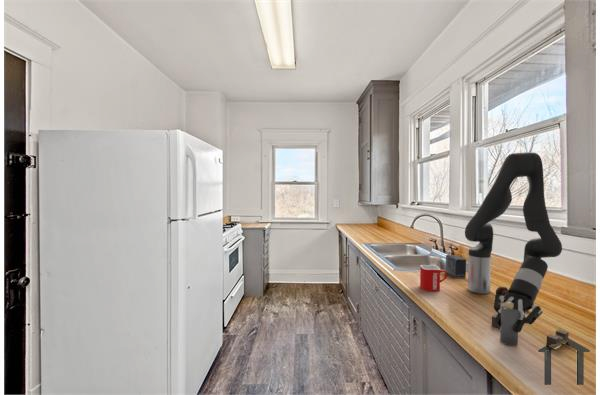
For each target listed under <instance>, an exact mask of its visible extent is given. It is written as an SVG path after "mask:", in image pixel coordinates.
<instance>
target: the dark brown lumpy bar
mask: <svg viewBox="0 0 600 395" xmlns="http://www.w3.org/2000/svg"><path fill="white" fill-rule="evenodd" d="M508 291H509V289H508V288H507V287H505V286H499V287H498V288H496V290H495V295H496V294H499V296H505V295H506V294H507V293H508Z"/></svg>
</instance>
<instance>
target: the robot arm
mask: <svg viewBox="0 0 600 395" xmlns="http://www.w3.org/2000/svg"><path fill="white" fill-rule="evenodd" d="M523 177H524V178H525V177H526V179H527V182H528V191H527V195H526V197H525V199H524V201H523V206H522V214H523V217H524V221H525V226H526V227H525V228H526V229H527V231H529V232H533V233H537V234H538V236H539V237H535V238H532V239H529V240H528V241H527V242H526V243H525V246H524V249H523V250H524V251H523V252H524V253H523V261H522V263H521V266H520V268H519V270H518V271H517V272H516V273H515V276H514V277H513V278H514V279H513V280H512V282H511V285H510V286H509V287H508V288H509V289H508V293H507V294H506V295H505V296H499V294H496V293H495V295H494V303H493V309H494V311H495V312H496V313H497V314H496V315H497V316H496V319H495V322H496V324H497V326H501V307H502V306H506V302H512V303H514V308H516V309H518V310H519V320H517V321H516V323H515V325H514V328H513V330H514V332H516V333H518V334H519V333H520V332H522V329H523V328H524V325H525V324H529V325H532V324H534V323H535V322H536V320H537V319H539V317H540V316H541V315H542V314H543V309H542V308H541V306H540V305H535V303H534V302H535V301H536V299H537V296H538V294H539V291H540V290H541V289H542V286H543V285H542V284H543V280H544V278H545V276H546V274H547V271H548V268H549V267H548V266H549V265H548V263H547V262H546V261H545V260H543V259H545V258H557V257H559V256H560V255H561V253H562V252H563V245H562V242H561V240H560V237H558V235H557V234H556V232H555V230H554V227H552V225H551V223H550V218H549V214H548V210H547V206H546V201H545V199H546V198H545V183H544V182H545V180H544V166H543V161H542V158H541V156H540V155H539V153H537V152H533V151H532V152H531V151H529V152H514V153H510V154H508V155H507V156H506V157H505V159H504V160H503V162H502V164H501V167H500V169H499V172H498V174H497V176H496V177H495V181H494V183H492V186H491V188H490V189H489V191H488V193H487V194H486V196H485V197H484V200H483V201H482V202H481V205H480V206H479V208H478V209H477V211H476V212H475V214H474V215H473V217H472V218H471V219H470V220H469V222H468V223H467V224H466V227H465V230H464V237H465V239H466V240H468V241H469V242H476V243H478V244H476V245H475V246H473V247H469V249H468V258H467V259H468V260H467V262H468V263H467V265H468V268H467V269H468V270H467V290H468V291H469V292H472V293H476V294H479V295H480V294H481V295H485V294H490V293H491V279H492V278H491V257H492V256H491V254H492V251H493V244H494V242H493V241H494V227H493V225H492V224H491V223H490V222H491V221H494V220H496V219H497V218H499V217H500V216H503V214H505V212H506V211H507V209H508V208H509V207H510V205H511V203H512V201H513V196H512V192H511V188H510V187H511V185H512V184H513V182H514V181H515V179H517V178H523ZM504 301H505V302H504ZM503 302H504V303H503ZM502 303H503V304H502ZM529 310H531V311H530V312H529V314H528V315H527V312H528V311H529Z"/></svg>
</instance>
